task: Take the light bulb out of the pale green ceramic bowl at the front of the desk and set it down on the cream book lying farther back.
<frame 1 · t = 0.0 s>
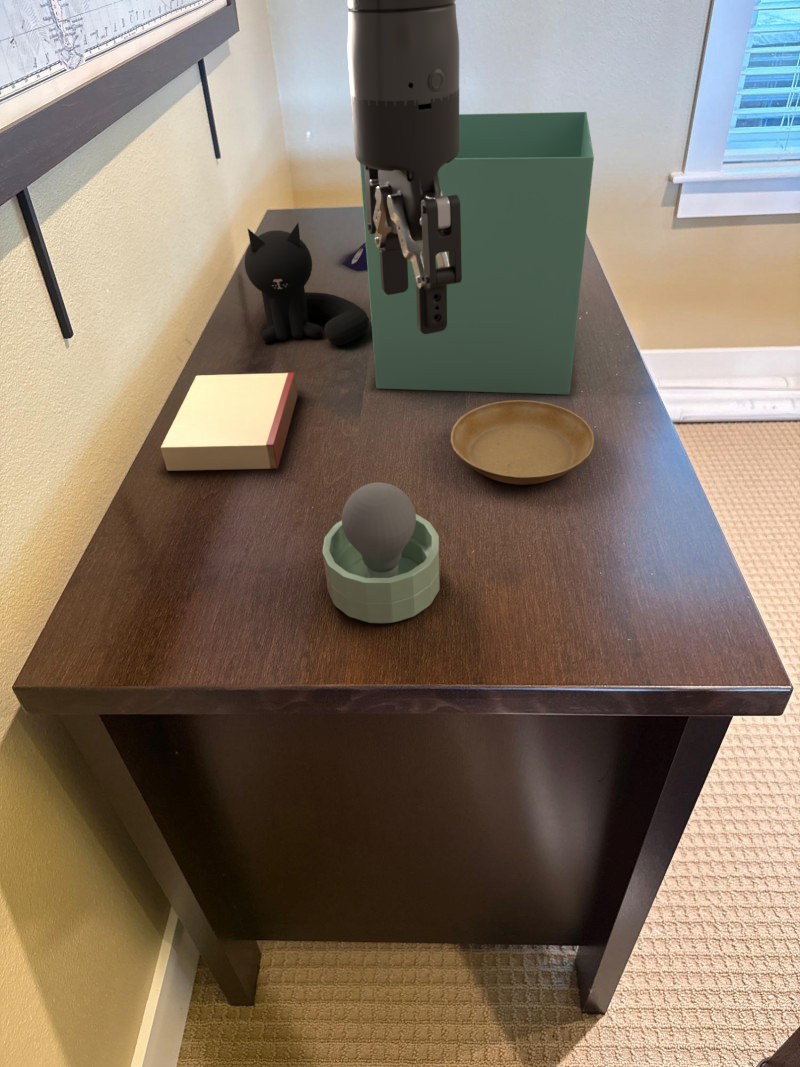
hand: (413, 310, 63), 20 cm above the table, tool pointing down, fingers open, 8 cm apart
light bulb: (384, 584, 67), resting on bowl
bowl: (384, 587, 67), on the table
box: (477, 354, 101), on the table
plant saucer: (520, 457, 82), on the table
book: (236, 430, 89), on the table
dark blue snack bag: (384, 256, 131), on the table
figurine: (312, 332, 109), on the table
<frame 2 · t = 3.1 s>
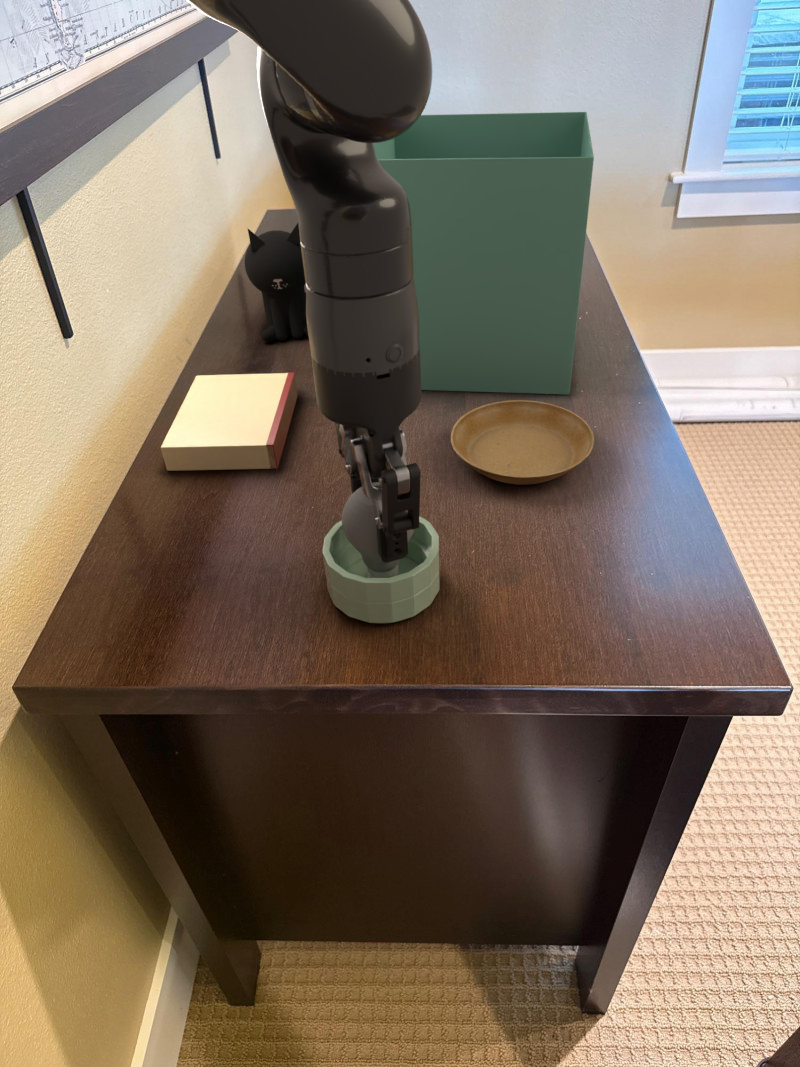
hand: (380, 532, 63), 6 cm above the table, tool pointing down, fingers closed on light bulb, 6 cm apart
light bulb: (384, 584, 67), resting on bowl, touching gripper
everything else where it was.
when the fingers open (9 cm above the table, at t = 10.5 s): light bulb stays where it is, resting on book.
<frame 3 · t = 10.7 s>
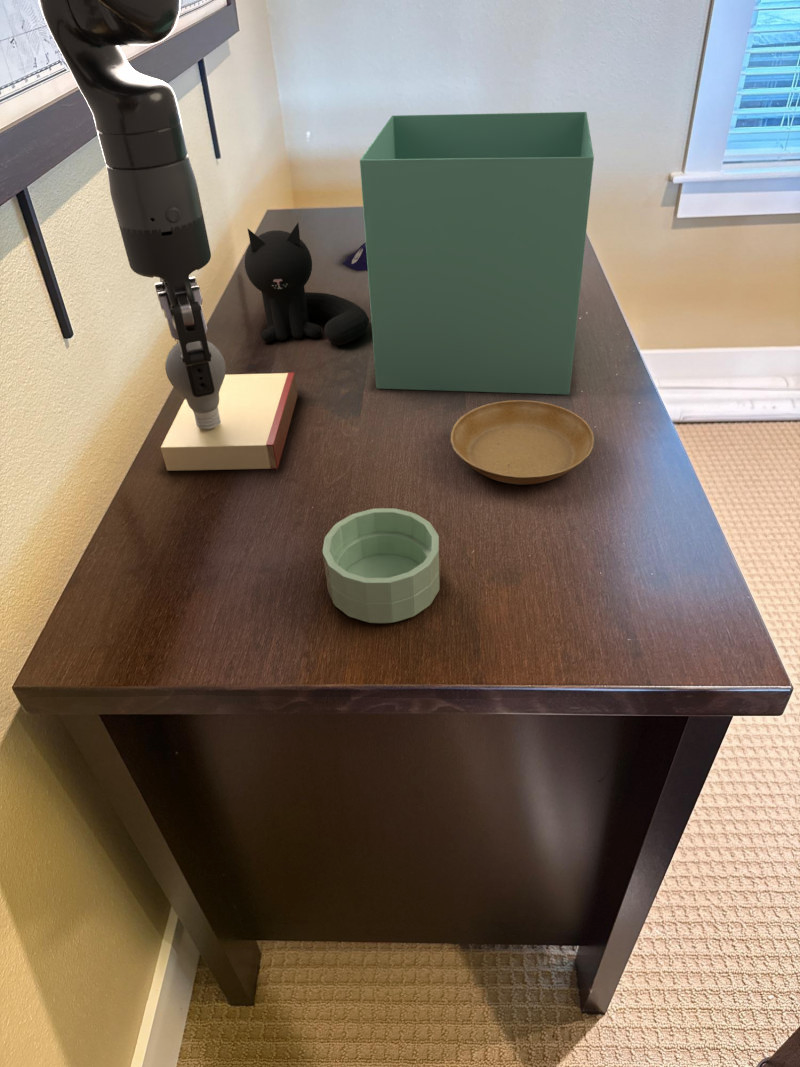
hand: (198, 377, 80), 9 cm above the table, tool pointing down, fingers open, 7 cm apart
light bulb: (209, 428, 84), point 3 cm above the table, touching book
everything else where it was.
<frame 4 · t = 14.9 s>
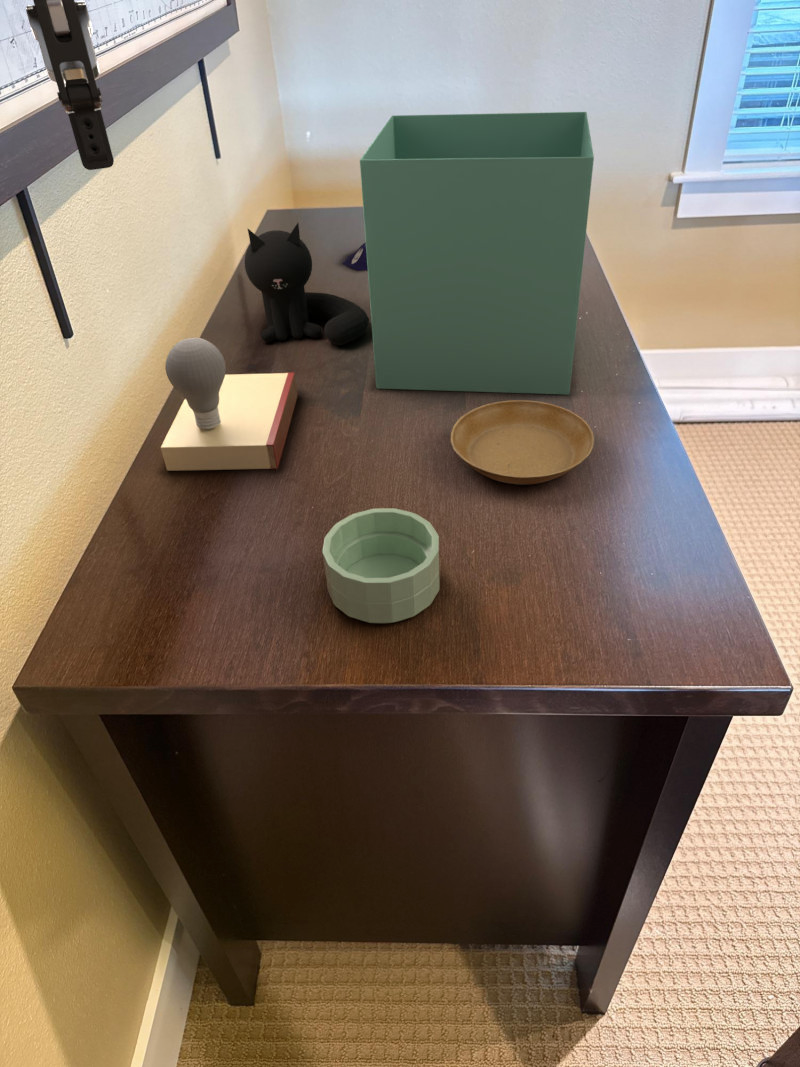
hand: (96, 154, 59), 32 cm above the table, tool pointing down, fingers open, 8 cm apart
nothing on the table moved.
at the end: light bulb inside the target area on the book (4.3 cm from its centre), point 2.8 cm above the book's base; the gripper is holding nothing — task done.
